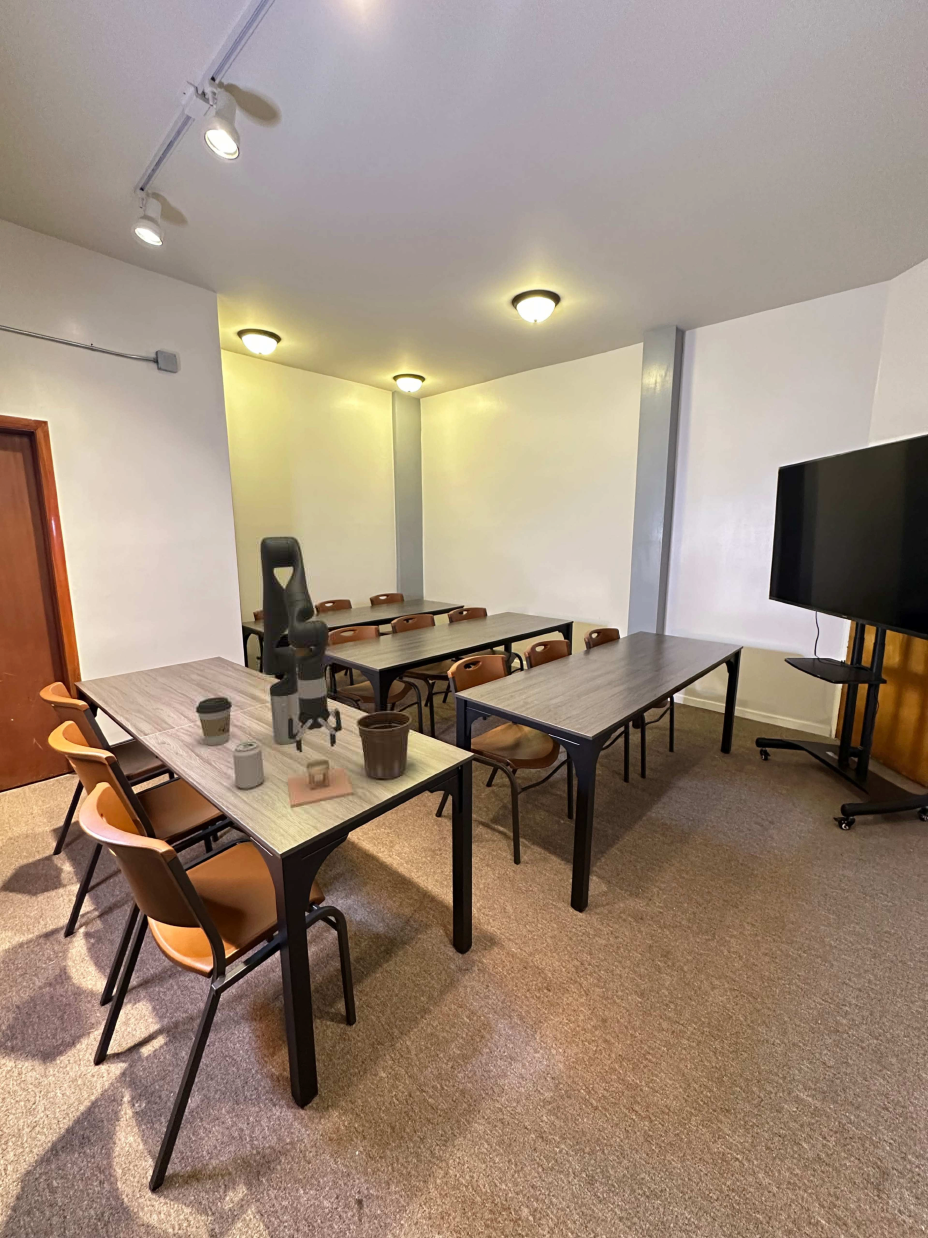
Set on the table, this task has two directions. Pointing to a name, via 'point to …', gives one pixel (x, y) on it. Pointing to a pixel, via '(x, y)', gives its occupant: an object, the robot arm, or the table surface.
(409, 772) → the table surface
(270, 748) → the table surface
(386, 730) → the plant pot
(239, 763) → the can
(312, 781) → the stool
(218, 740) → the coffee cup
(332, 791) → the mat
